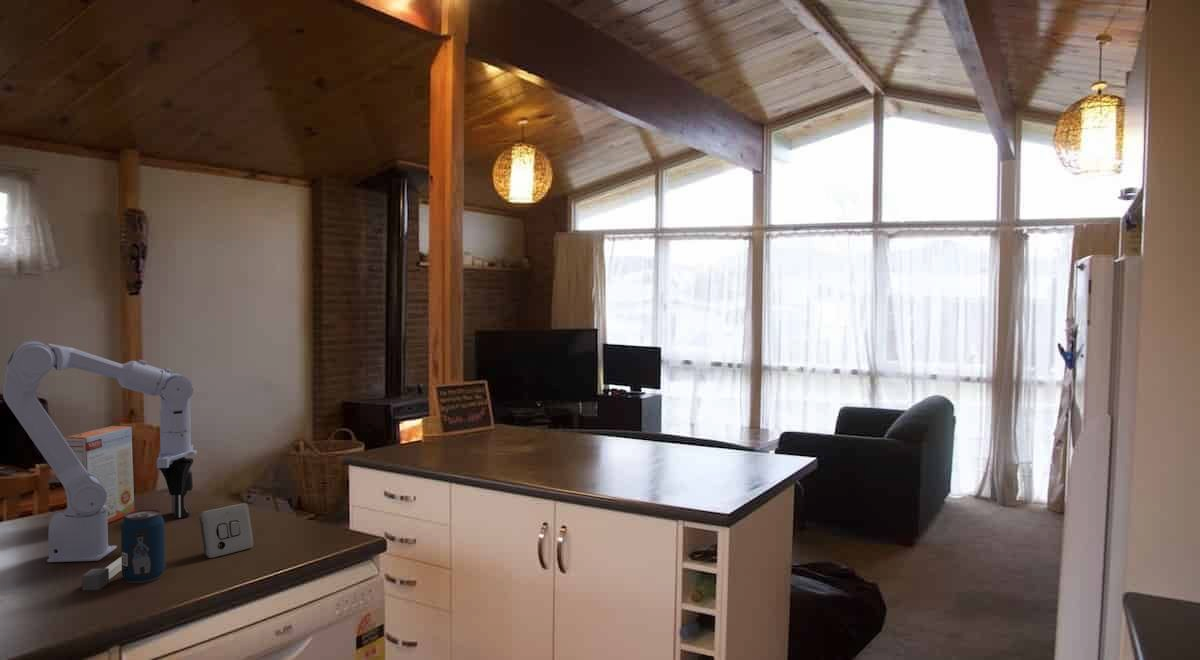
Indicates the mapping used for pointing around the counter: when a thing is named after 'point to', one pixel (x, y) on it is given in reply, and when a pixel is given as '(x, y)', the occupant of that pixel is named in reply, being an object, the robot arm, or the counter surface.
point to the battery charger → (182, 499)
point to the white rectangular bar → (100, 576)
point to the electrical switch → (226, 530)
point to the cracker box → (108, 465)
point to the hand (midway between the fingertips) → (176, 494)
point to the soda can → (142, 546)
